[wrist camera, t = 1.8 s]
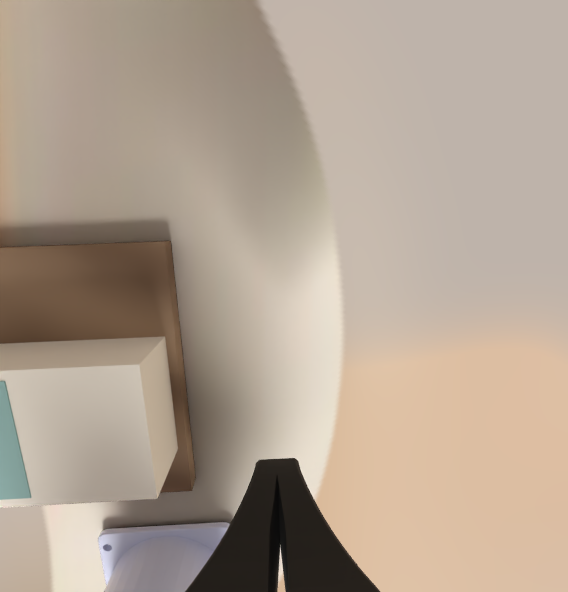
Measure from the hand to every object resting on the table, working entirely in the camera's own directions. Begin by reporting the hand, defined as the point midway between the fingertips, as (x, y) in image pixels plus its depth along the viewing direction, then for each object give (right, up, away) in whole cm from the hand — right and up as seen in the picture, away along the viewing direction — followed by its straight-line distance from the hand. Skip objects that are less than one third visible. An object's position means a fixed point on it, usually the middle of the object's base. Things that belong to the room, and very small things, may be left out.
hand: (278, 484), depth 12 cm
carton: (-10, +1, +6) cm, 12 cm away
